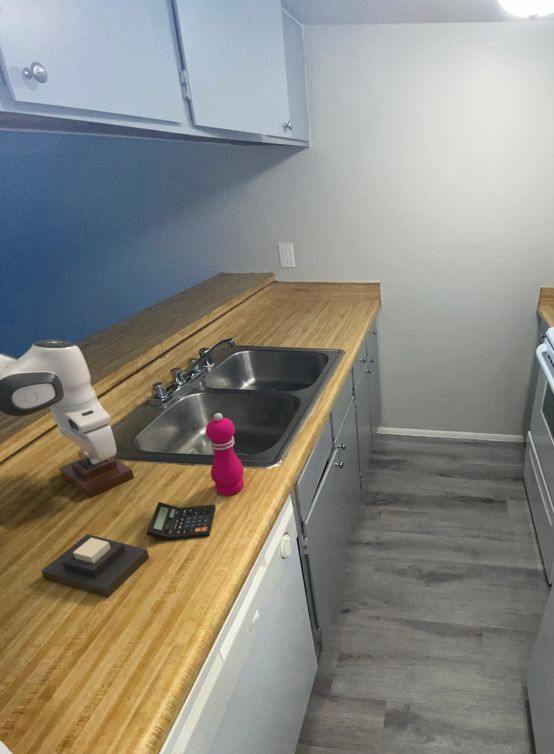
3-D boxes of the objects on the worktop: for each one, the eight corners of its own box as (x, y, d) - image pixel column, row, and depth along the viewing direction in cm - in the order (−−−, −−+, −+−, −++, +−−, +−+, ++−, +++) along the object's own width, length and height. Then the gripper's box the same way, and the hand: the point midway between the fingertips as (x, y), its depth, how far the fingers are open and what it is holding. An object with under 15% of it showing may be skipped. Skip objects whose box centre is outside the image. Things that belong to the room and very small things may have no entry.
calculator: (209, 536, 97) (206, 525, 96) (148, 543, 95) (144, 531, 93) (215, 507, 105) (213, 496, 104) (159, 512, 103) (156, 502, 102)
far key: (82, 468, 112) (80, 462, 111) (99, 461, 114) (97, 455, 114) (90, 474, 110) (88, 468, 109) (108, 466, 113) (106, 460, 112)
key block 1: (61, 476, 113) (56, 460, 111) (105, 458, 120) (100, 443, 118) (90, 498, 106) (84, 482, 104) (134, 478, 114) (130, 462, 111)
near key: (75, 559, 86) (72, 552, 85) (93, 544, 89) (91, 537, 88) (93, 564, 85) (90, 557, 84) (111, 549, 88) (108, 542, 87)
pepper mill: (223, 477, 115) (210, 404, 106) (251, 480, 114) (240, 407, 105) (208, 495, 109) (193, 419, 99) (237, 499, 108) (225, 423, 99)
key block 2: (44, 579, 86) (37, 563, 84) (90, 542, 94) (84, 526, 93) (108, 597, 83) (102, 581, 81) (149, 557, 91) (145, 542, 90)
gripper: (40, 401, 108) (58, 452, 114) (82, 429, 97) (100, 483, 104) (70, 392, 112) (86, 441, 119) (114, 418, 102) (129, 470, 109)
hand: (93, 461), depth 111 cm, fingers closed, pressing on far key
